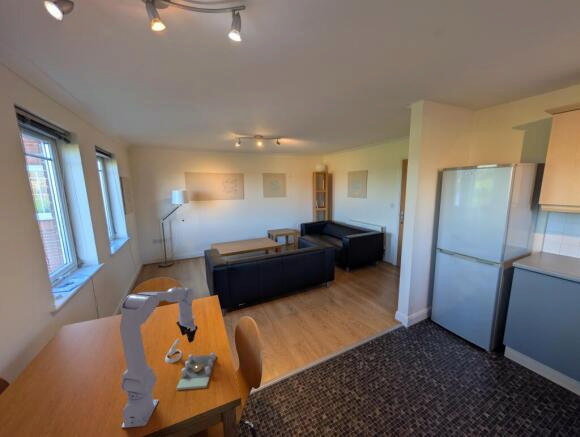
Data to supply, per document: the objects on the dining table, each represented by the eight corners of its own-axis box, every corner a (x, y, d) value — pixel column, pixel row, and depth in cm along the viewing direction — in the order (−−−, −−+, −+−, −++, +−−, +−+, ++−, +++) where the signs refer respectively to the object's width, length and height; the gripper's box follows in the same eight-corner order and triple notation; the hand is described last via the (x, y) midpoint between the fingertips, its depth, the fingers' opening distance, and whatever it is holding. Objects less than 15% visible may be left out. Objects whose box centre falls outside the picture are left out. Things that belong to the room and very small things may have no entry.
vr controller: (186, 353, 104) (172, 348, 102) (174, 369, 106) (160, 364, 104) (191, 339, 111) (178, 334, 109) (180, 355, 113) (167, 350, 111)
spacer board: (206, 387, 92) (205, 379, 91) (176, 390, 90) (175, 381, 90) (216, 356, 108) (215, 349, 108) (191, 358, 107) (190, 351, 107)
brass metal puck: (201, 373, 97) (201, 369, 97) (192, 373, 97) (191, 369, 97) (204, 366, 101) (203, 362, 101) (195, 366, 101) (194, 362, 101)
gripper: (201, 314, 104) (202, 340, 105) (187, 303, 113) (189, 327, 115) (185, 320, 98) (188, 348, 100) (173, 309, 108) (175, 334, 110)
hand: (187, 337), depth 107 cm, fingers open, 7 cm apart
